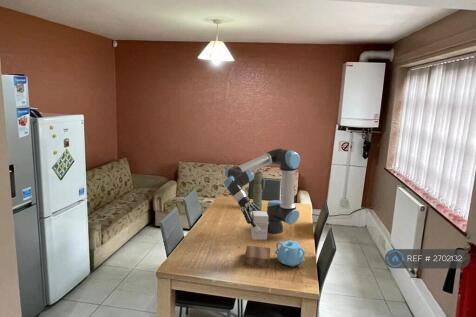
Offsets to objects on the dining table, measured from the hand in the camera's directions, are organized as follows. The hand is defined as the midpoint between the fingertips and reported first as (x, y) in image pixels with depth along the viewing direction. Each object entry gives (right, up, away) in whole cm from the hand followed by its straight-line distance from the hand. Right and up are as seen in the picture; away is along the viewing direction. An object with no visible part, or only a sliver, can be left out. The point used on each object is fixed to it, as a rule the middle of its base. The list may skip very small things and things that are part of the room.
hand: (263, 227), depth 195 cm
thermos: (+2, -5, +99) cm, 99 cm away
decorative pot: (+17, -23, +6) cm, 29 cm away
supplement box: (-3, -6, +2) cm, 7 cm away
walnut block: (-3, -22, +5) cm, 23 cm away
